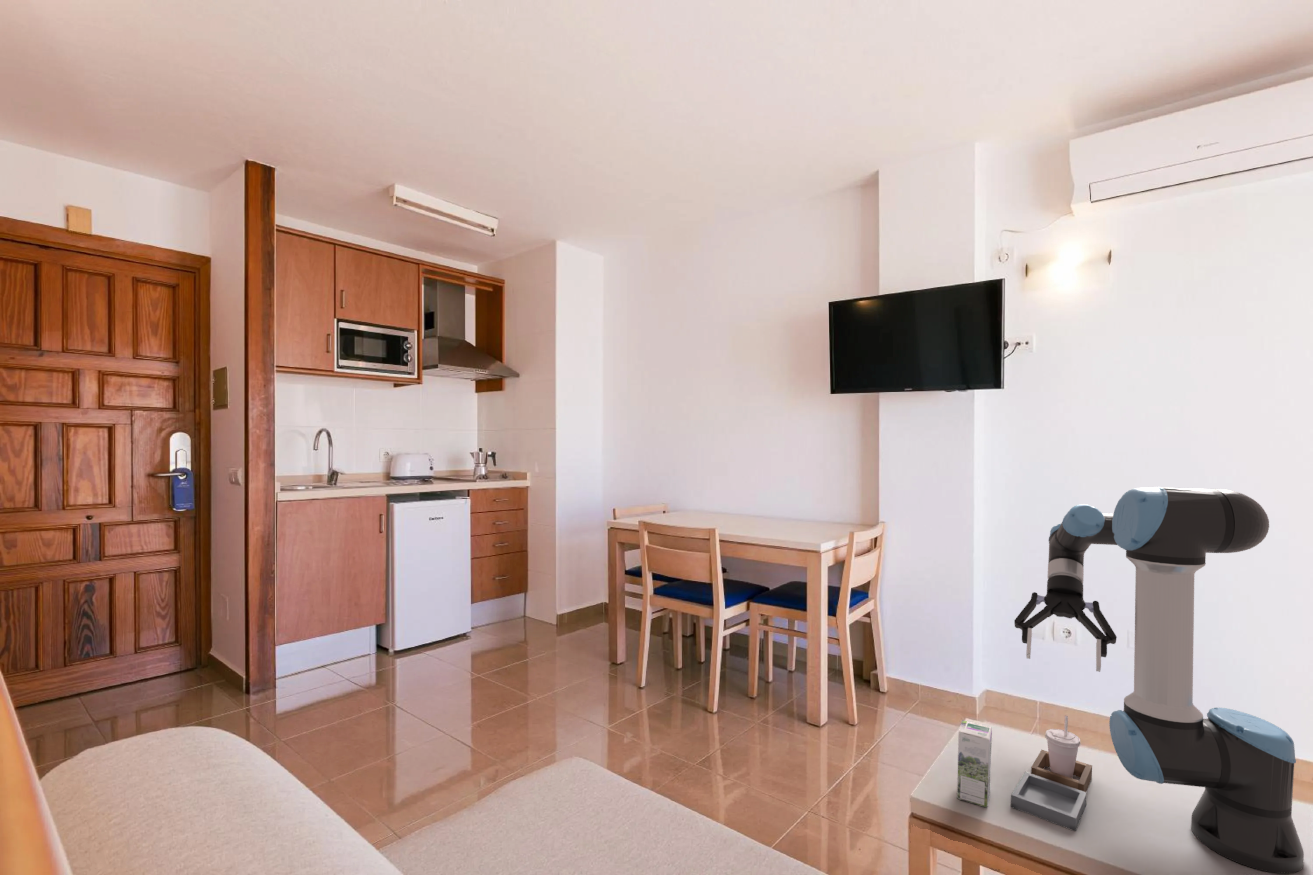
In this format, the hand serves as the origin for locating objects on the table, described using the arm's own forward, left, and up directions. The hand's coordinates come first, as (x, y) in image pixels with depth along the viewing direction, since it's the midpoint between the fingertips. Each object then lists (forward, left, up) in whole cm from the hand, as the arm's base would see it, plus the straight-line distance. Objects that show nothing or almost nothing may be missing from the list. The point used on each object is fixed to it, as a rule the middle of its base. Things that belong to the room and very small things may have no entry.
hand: (1062, 662), depth 148 cm
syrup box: (+9, +31, -21) cm, 39 cm away
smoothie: (-3, +12, -21) cm, 25 cm away
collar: (-3, +12, -21) cm, 25 cm away
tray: (-3, +24, -21) cm, 32 cm away
